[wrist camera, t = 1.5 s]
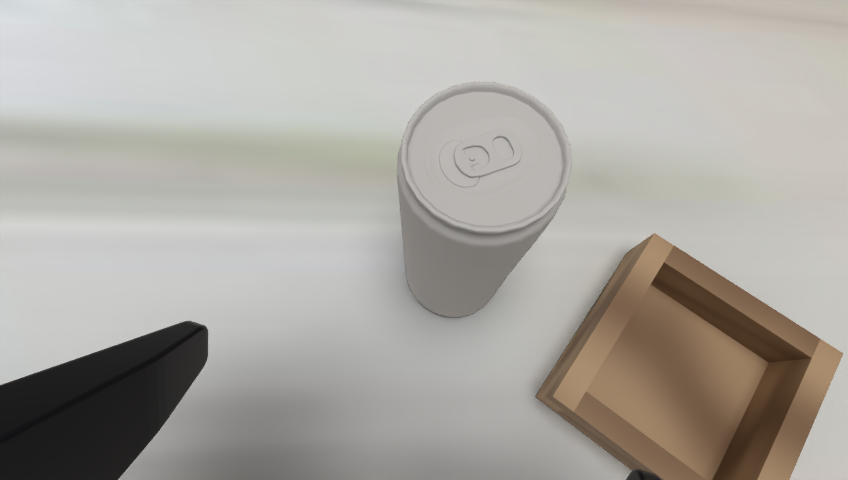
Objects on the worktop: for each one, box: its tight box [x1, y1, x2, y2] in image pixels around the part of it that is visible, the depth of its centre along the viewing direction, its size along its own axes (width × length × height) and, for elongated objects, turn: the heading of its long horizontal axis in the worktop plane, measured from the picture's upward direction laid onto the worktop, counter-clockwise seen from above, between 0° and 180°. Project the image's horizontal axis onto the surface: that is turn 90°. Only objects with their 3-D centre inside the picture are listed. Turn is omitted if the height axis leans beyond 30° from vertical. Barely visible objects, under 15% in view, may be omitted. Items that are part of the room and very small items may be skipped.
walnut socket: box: [535, 233, 843, 480], centre depth 20 cm, size 9×9×3 cm
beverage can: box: [397, 82, 572, 317], centre depth 18 cm, size 5×5×12 cm
